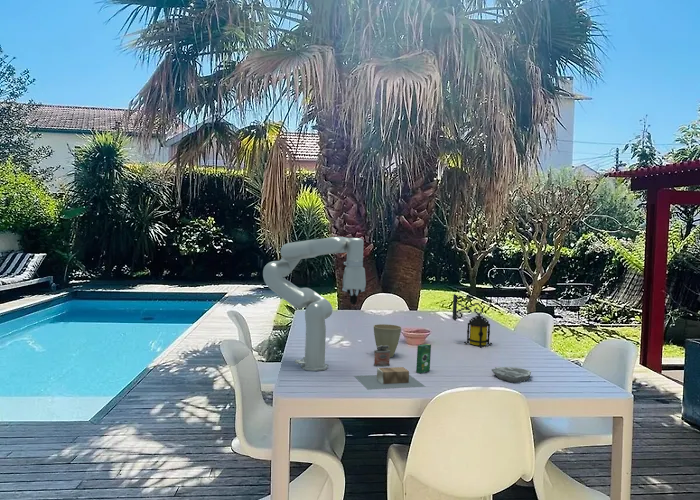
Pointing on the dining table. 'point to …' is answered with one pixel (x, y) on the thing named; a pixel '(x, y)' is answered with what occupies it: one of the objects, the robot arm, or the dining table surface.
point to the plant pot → (387, 336)
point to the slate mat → (373, 383)
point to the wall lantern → (473, 324)
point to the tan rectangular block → (392, 375)
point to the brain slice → (512, 374)
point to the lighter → (382, 356)
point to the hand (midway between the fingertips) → (353, 303)
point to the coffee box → (423, 358)
